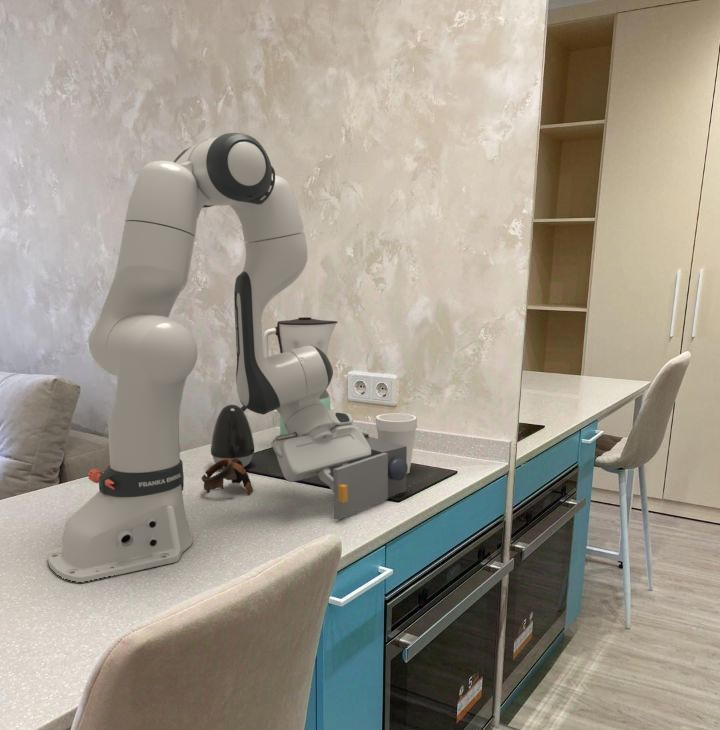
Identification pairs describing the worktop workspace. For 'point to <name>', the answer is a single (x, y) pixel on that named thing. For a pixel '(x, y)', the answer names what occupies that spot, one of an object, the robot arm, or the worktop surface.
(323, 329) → the green blender
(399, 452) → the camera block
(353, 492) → the side door
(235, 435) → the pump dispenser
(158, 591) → the worktop surface
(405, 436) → the foam cup
